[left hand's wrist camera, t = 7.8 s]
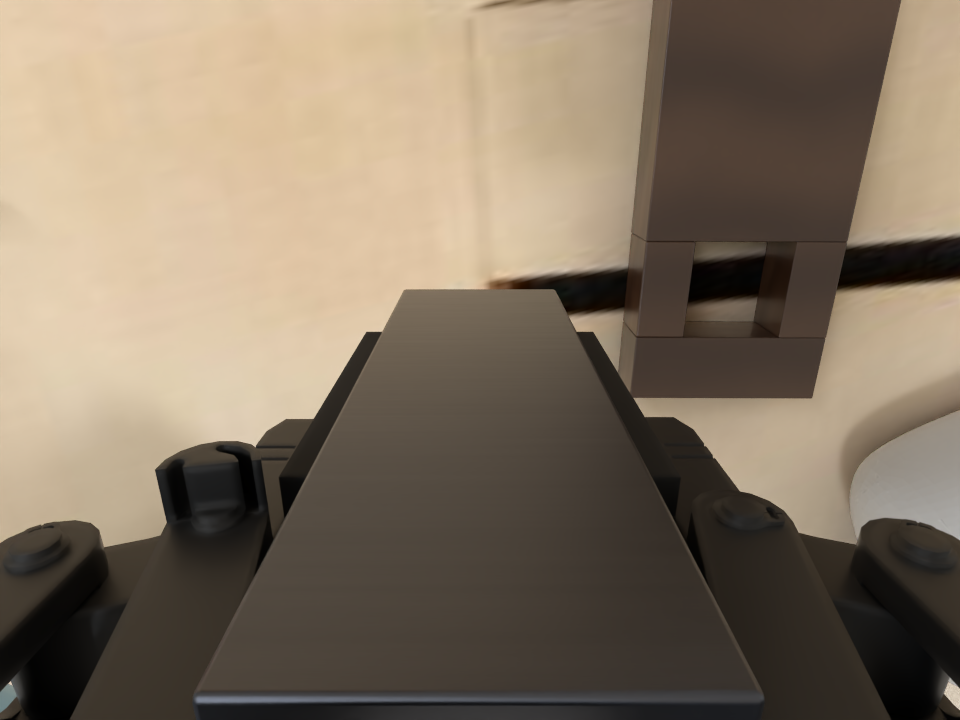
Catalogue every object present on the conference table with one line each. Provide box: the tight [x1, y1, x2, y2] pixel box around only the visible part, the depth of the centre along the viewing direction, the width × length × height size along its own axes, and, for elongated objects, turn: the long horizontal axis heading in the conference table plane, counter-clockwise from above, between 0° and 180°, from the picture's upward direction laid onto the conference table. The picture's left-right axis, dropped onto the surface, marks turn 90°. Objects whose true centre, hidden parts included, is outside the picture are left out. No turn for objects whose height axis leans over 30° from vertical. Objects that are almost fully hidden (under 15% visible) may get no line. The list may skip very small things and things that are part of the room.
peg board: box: [618, 0, 901, 398], centre depth 23 cm, size 36×10×11 cm, turn 0°
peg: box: [192, 290, 765, 720], centre depth 10 cm, size 4×4×12 cm
